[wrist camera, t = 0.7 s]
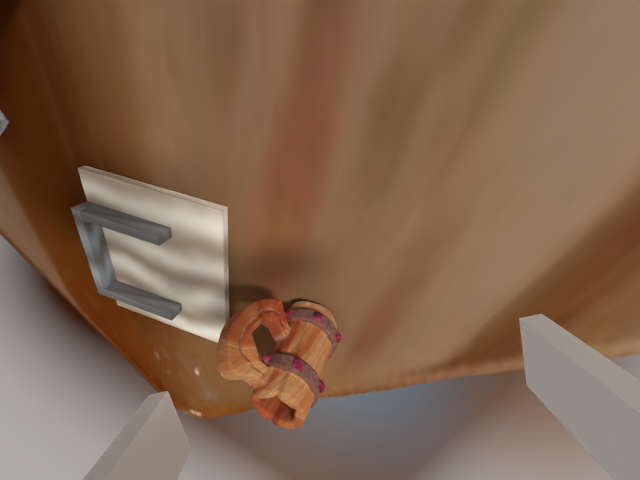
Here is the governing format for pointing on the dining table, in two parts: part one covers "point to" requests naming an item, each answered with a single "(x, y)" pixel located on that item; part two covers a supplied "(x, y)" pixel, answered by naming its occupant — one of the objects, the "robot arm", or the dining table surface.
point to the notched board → (156, 251)
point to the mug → (280, 357)
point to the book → (3, 122)
